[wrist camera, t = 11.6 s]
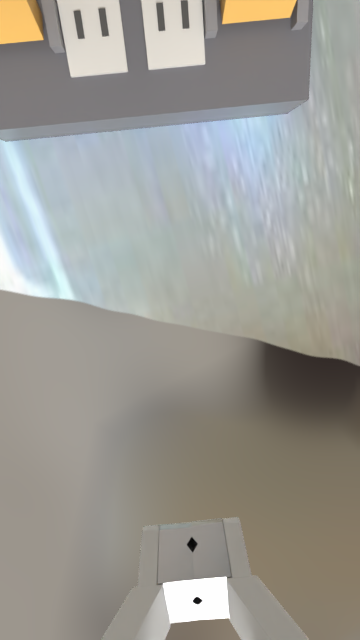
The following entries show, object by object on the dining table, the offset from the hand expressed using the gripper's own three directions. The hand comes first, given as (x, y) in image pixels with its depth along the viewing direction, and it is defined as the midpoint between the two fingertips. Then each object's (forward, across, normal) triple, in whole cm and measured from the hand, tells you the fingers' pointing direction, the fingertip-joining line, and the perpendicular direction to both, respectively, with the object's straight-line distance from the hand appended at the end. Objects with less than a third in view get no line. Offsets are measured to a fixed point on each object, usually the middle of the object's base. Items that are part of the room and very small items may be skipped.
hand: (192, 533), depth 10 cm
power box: (+29, +1, -22) cm, 36 cm away
